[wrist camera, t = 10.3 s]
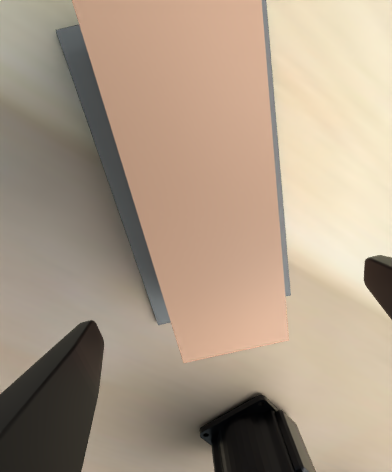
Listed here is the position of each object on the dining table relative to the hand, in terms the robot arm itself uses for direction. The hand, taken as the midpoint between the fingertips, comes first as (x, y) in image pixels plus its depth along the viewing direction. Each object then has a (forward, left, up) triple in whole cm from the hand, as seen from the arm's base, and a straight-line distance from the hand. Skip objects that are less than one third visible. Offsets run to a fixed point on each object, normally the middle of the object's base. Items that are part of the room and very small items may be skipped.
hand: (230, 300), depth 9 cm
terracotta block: (-2, -4, -4) cm, 6 cm away
